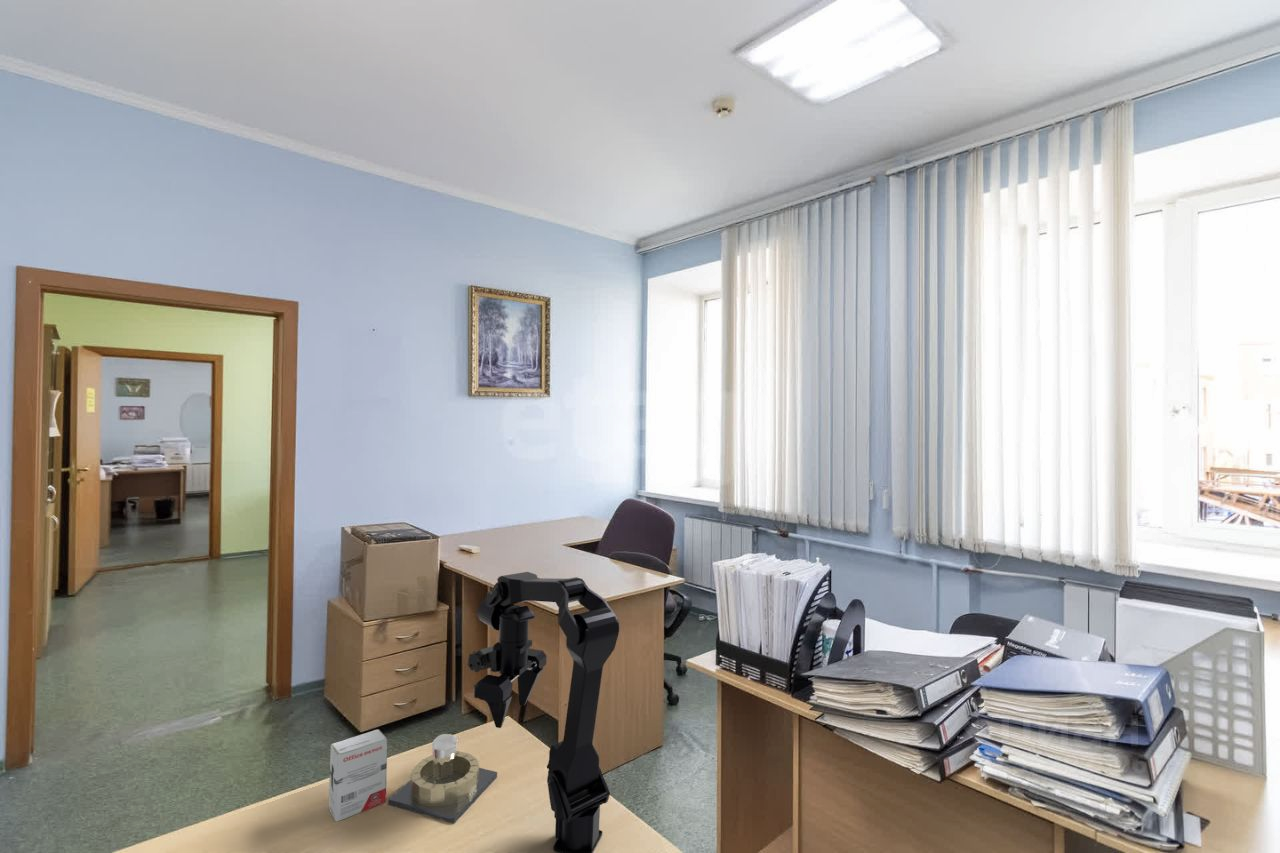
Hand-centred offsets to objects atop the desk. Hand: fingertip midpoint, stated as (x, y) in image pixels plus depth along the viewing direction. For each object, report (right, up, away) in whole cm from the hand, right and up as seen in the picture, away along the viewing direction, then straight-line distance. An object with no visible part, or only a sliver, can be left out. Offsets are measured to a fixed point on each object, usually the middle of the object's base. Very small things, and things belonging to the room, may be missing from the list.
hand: (510, 715), depth 115 cm
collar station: (-11, -12, -5) cm, 17 cm away
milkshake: (-11, -11, -5) cm, 16 cm away
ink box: (-26, -11, -10) cm, 30 cm away
